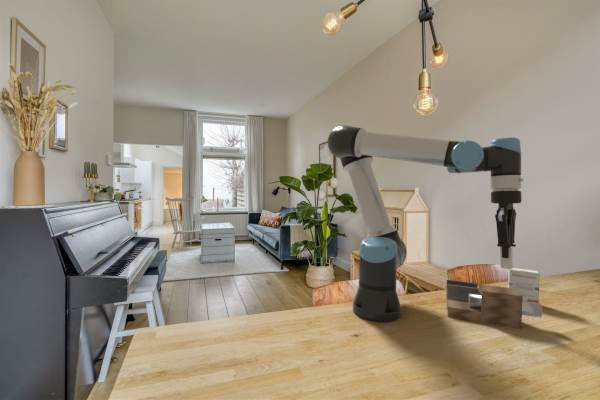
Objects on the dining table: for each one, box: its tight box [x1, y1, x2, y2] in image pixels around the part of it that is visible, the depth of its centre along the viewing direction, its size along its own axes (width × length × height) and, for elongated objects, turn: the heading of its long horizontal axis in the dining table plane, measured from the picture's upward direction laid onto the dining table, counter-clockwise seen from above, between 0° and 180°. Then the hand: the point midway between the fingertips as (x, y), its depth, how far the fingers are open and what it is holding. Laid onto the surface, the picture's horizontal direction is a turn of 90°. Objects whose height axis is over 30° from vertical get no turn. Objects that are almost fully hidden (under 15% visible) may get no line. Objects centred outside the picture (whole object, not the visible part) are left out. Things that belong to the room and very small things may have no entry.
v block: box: [445, 279, 479, 303], centre depth 106 cm, size 10×7×6 cm
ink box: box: [507, 267, 541, 303], centre depth 104 cm, size 9×5×12 cm, turn 58°
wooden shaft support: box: [446, 283, 523, 329], centre depth 92 cm, size 19×7×10 cm, turn 66°
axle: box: [468, 294, 543, 318], centre depth 89 cm, size 18×4×4 cm, turn 66°
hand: (506, 268), depth 89 cm, fingers closed
